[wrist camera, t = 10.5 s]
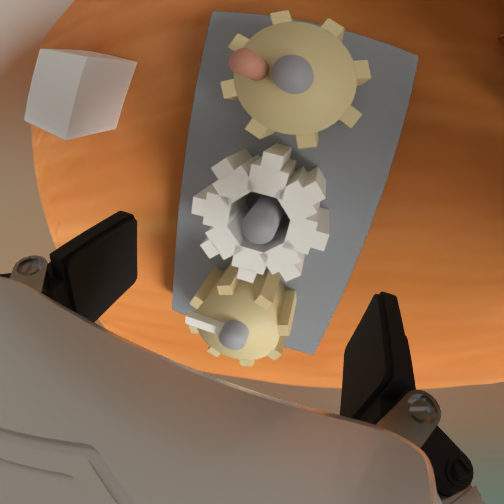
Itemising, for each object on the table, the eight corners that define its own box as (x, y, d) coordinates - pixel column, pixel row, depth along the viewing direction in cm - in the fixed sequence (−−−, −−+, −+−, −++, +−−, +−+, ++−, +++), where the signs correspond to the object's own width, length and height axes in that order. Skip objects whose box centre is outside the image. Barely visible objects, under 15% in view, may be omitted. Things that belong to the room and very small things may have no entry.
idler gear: (344, 161, 17) (348, 175, 13) (311, 265, 21) (306, 299, 17) (226, 132, 18) (201, 138, 14) (209, 235, 21) (186, 262, 18)
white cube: (117, 129, 21) (66, 141, 16) (73, 111, 21) (23, 121, 16) (138, 61, 18) (87, 56, 13) (90, 50, 18) (39, 48, 13)
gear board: (410, 60, 14) (460, 34, 7) (315, 339, 26) (304, 415, 19) (222, 18, 16) (163, -22, 8) (181, 297, 27) (136, 358, 20)
